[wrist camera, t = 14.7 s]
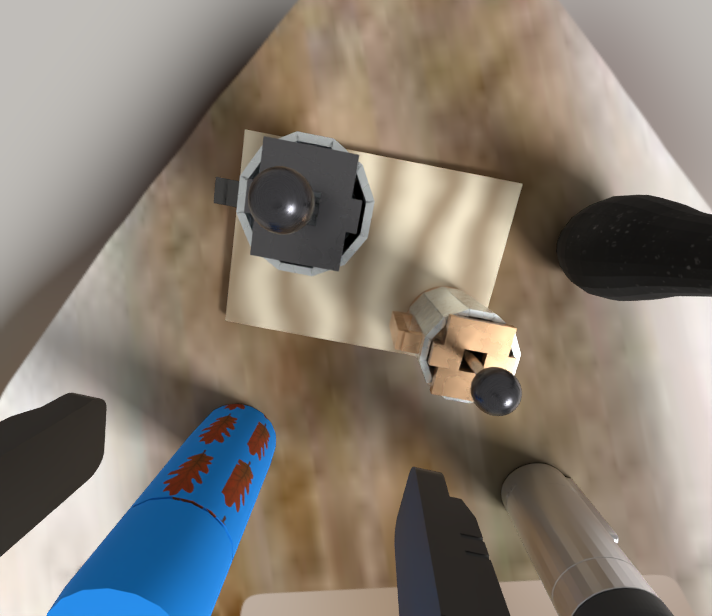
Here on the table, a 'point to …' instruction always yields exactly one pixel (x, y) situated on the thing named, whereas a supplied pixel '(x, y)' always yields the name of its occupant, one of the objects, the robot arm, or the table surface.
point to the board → (382, 254)
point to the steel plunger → (283, 201)
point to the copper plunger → (490, 384)
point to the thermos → (179, 526)
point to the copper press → (453, 339)
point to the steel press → (336, 210)
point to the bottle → (638, 249)
